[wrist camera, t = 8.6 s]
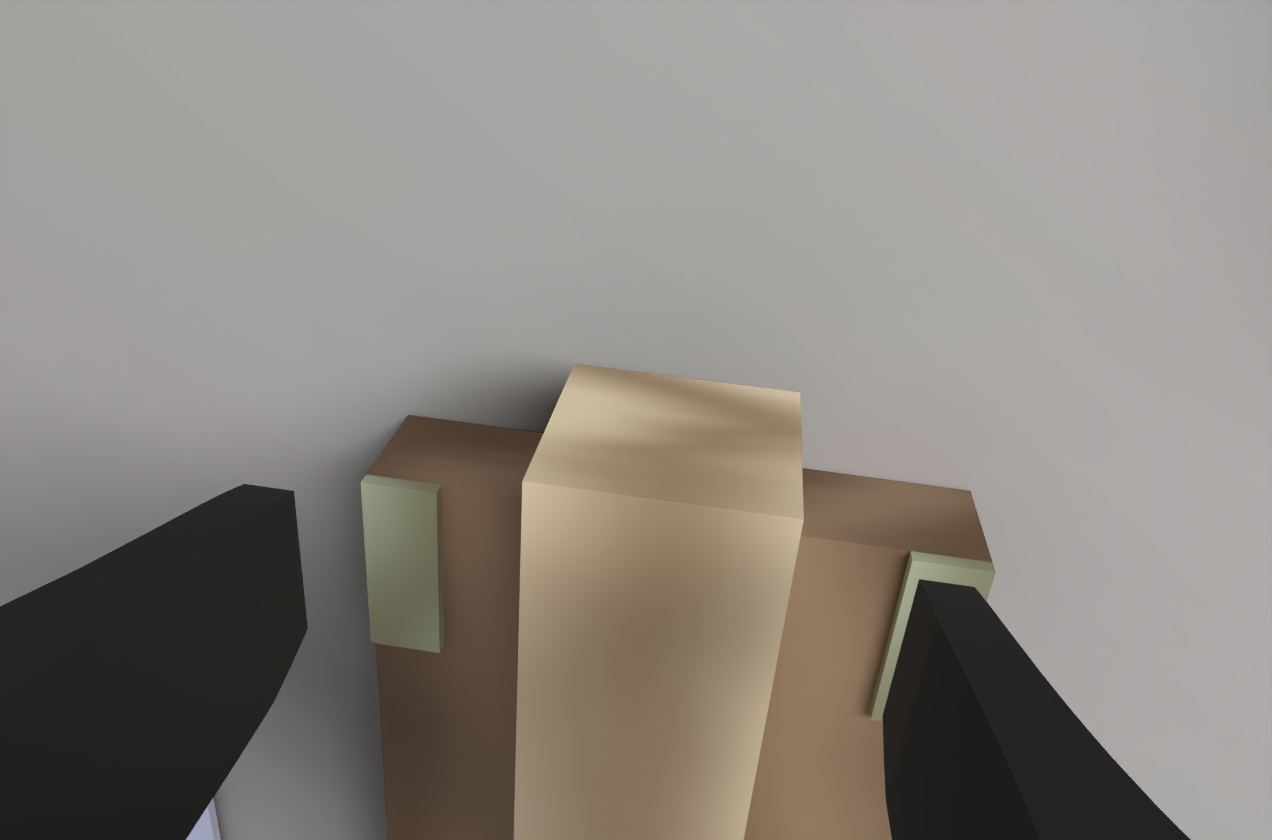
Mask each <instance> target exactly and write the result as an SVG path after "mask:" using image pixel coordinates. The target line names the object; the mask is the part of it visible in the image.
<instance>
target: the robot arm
mask: <svg viewBox="0 0 1272 840" xmlns="http://www.w3.org/2000/svg"><path fill="white" fill-rule="evenodd" d="M307 629H308V628H307V618H306V608H305V598H304V588H303V578H302V569H301V559H300V549H299V539H298V529H297V519H296V509H295V499H294V491H290V490H283V489H275V488H268V487H261V486H254V485H247V484H243V485H241V486H238V487H236V488H234V489H232V490H229V491H227V492H225V493H223V494H221V495H219V496H217V497H215V498H213V499H211V500H209V501H207V502H205V503H203V504H201V505H199V506H197V507H195V508H193V509H191V510H190V511H188V512H186V513H184V514H182V515H180V516H178V517H176V518H174V519H173V520H171V521H169V522H167V523H165V524H163V525H161V526H159V527H158V528H156V529H154V530H152V531H150V532H148V533H146V534H144V535H143V536H141V537H139V538H137V539H135V540H133V541H131V542H129V543H127V544H125V545H123V546H122V547H120V548H118V549H116V550H114V551H112V552H110V553H108V554H106V555H104V556H102V557H101V558H99V559H97V560H95V561H93V562H91V563H89V564H87V565H85V566H83V567H81V568H79V569H77V570H75V571H73V572H71V573H69V574H67V575H65V576H63V577H61V578H59V579H57V580H55V581H53V582H50V583H48V584H46V585H44V586H42V587H40V588H38V589H36V590H34V591H32V592H30V593H28V594H25V595H23V596H21V597H19V598H17V599H15V600H13V601H11V602H9V603H7V604H5V605H3V606H1V607H0V840H221V838H220V832H219V827H218V821H217V816H216V810H215V804H214V799H213V797H214V796H215V794H216V792H217V791H218V789H219V788H220V786H221V785H222V783H223V782H224V780H225V778H226V777H227V775H228V774H229V772H230V771H231V769H232V768H233V766H234V765H235V763H236V761H237V760H238V758H239V757H240V755H241V753H242V752H243V750H244V749H245V747H246V746H247V744H248V742H249V741H250V739H251V738H252V736H253V735H254V733H255V731H256V730H257V728H258V727H259V725H260V723H261V722H262V720H263V719H264V717H265V715H266V714H267V712H268V710H269V709H270V707H271V706H272V704H273V702H274V700H275V698H276V696H277V694H278V692H279V690H280V688H281V686H282V683H283V681H284V679H285V677H286V675H287V673H288V671H289V669H290V667H291V664H292V662H293V660H294V658H295V655H296V653H297V651H298V649H299V647H300V644H301V642H302V640H303V638H304V635H305V633H306V631H307ZM883 748H884V774H885V795H886V805H887V811H888V818H889V824H890V831H891V837H892V840H1190V839H1189V838H1188V837H1187V836H1186V835H1185V834H1184V833H1183V832H1182V831H1181V830H1180V829H1179V828H1178V827H1177V826H1176V825H1175V824H1174V823H1173V822H1172V821H1171V820H1170V819H1169V818H1168V817H1167V816H1166V815H1165V814H1164V813H1163V812H1162V811H1161V810H1160V809H1159V808H1158V807H1157V806H1156V805H1155V804H1154V803H1153V801H1152V800H1151V799H1150V798H1149V797H1148V796H1147V795H1146V794H1145V793H1144V792H1143V791H1142V790H1141V788H1140V787H1139V786H1138V785H1137V784H1136V783H1135V782H1134V781H1133V780H1132V779H1131V778H1130V777H1129V775H1128V774H1127V773H1126V772H1125V771H1124V770H1123V769H1122V768H1121V767H1120V766H1119V765H1118V764H1117V762H1116V761H1115V760H1114V759H1113V758H1112V757H1111V756H1110V755H1109V754H1108V752H1107V751H1106V750H1105V749H1104V748H1103V747H1102V746H1101V744H1100V743H1099V742H1098V741H1097V740H1096V739H1095V738H1094V736H1093V735H1092V734H1091V733H1090V732H1089V731H1088V730H1087V728H1086V727H1085V726H1084V725H1083V724H1082V722H1081V721H1080V720H1079V719H1078V718H1077V716H1076V715H1075V714H1074V713H1073V712H1072V710H1071V709H1070V708H1069V707H1068V706H1067V704H1066V703H1065V702H1064V701H1063V699H1062V698H1061V697H1060V696H1059V695H1058V693H1057V692H1056V691H1055V690H1054V688H1053V687H1052V686H1051V685H1050V683H1049V682H1048V681H1047V680H1046V678H1045V677H1044V676H1043V675H1042V673H1041V672H1040V671H1039V670H1038V668H1037V667H1036V666H1035V664H1034V663H1033V662H1032V661H1031V659H1030V658H1029V657H1028V655H1027V654H1026V653H1025V652H1024V650H1023V649H1022V648H1021V646H1020V645H1019V644H1018V642H1017V641H1016V640H1015V638H1014V637H1013V636H1012V635H1011V633H1010V632H1009V631H1008V629H1007V628H1006V627H1005V625H1004V624H1003V623H1002V621H1001V620H1000V619H999V617H998V616H997V615H996V614H995V612H994V611H993V610H992V608H991V607H990V606H989V604H988V603H987V602H986V600H985V599H984V598H983V597H982V595H981V594H980V593H979V591H978V590H977V589H976V588H975V587H972V586H965V585H958V584H951V583H944V582H936V581H929V580H922V579H919V581H918V584H917V588H916V592H915V596H914V599H913V603H912V607H911V611H910V614H909V618H908V622H907V626H906V629H905V633H904V637H903V641H902V644H901V648H900V652H899V656H898V659H897V663H896V667H895V671H894V674H893V678H892V682H891V686H890V689H889V693H888V697H887V701H886V704H885V708H884V712H883Z"/></svg>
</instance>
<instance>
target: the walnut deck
mask: <svg viewBox="0 0 1272 840" xmlns="http://www.w3.org/2000/svg"><path fill="white" fill-rule="evenodd" d="M543 434H544V433H537V432H530V431H522V430H515V429H507V428H500V427H493V426H485V425H478V424H471V423H463V422H456V421H448V420H441V419H434V418H426V417H419V416H411V415H409V416H408V417H407V418H406V420H405V421H404V423H403V424H402V425H401V427H400V428H399V430H398V431H397V432H396V434H395V435H394V437H393V438H392V439H391V441H390V442H389V443H388V445H387V446H386V448H385V449H384V450H383V452H382V453H381V455H380V456H379V457H378V459H377V460H376V462H375V463H374V464H373V466H372V467H371V469H370V470H369V471H368V473H367V474H366V476H365V477H364V478H363V480H362V481H361V497H362V513H363V529H364V545H365V561H366V576H367V592H368V608H369V624H370V640H371V642H372V643H376V645H377V662H378V679H379V696H380V713H381V729H382V746H383V763H384V780H385V797H386V814H387V830H388V840H514V802H515V761H516V720H517V679H518V638H519V597H520V556H521V515H522V481H523V478H524V476H525V474H526V472H527V469H528V467H529V465H530V463H531V461H532V458H533V456H534V454H535V452H536V449H537V447H538V445H539V443H540V440H541V438H542V436H543ZM802 475H803V510H804V521H803V526H802V532H801V537H800V542H799V548H798V553H797V558H796V563H795V569H794V574H793V579H792V585H791V590H790V595H789V601H788V606H787V611H786V617H785V622H784V627H783V633H782V638H781V643H780V649H779V654H778V659H777V665H776V670H775V675H774V681H773V686H772V691H771V697H770V702H769V707H768V713H767V718H766V723H765V728H764V734H763V739H762V744H761V750H760V755H759V760H758V766H757V771H756V776H755V782H754V787H753V792H752V798H751V803H750V808H749V814H748V819H747V824H746V830H745V835H744V840H892V837H891V831H890V824H889V818H888V811H887V805H886V795H885V774H884V748H883V712H884V708H885V704H886V701H887V697H888V693H889V689H890V686H891V682H892V678H893V674H894V671H895V667H896V663H897V659H898V656H899V652H900V648H901V644H902V641H903V637H904V633H905V629H906V626H907V622H908V618H909V614H910V611H911V607H912V603H913V599H914V596H915V592H916V588H917V584H918V581H919V579H922V580H929V581H936V582H944V583H951V584H958V585H965V586H972V587H975V588H976V589H977V590H978V591H979V593H980V594H981V595H982V597H983V598H984V599H985V600H986V601H987V597H988V594H989V591H990V588H991V585H992V581H993V578H994V575H995V569H994V566H993V563H992V560H991V556H990V553H989V550H988V547H987V543H986V540H985V537H984V534H983V530H982V527H981V524H980V521H979V517H978V514H977V511H976V508H975V504H974V501H973V498H972V495H971V491H965V490H958V489H950V488H943V487H936V486H928V485H921V484H913V483H906V482H899V481H891V480H884V479H877V478H869V477H862V476H854V475H847V474H840V473H832V472H825V471H817V470H810V469H803V468H802Z"/></svg>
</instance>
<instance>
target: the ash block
mask: <svg viewBox="0 0 1272 840" xmlns="http://www.w3.org/2000/svg"><path fill="white" fill-rule="evenodd" d="M803 521H804V510H803V475H802V441H801V406H800V392H792V391H784V390H776V389H768V388H761V387H753V386H745V385H737V384H729V383H721V382H713V381H705V380H697V379H689V378H681V377H673V376H665V375H657V374H649V373H642V372H634V371H626V370H618V369H610V368H602V367H594V366H586V365H578V364H574V366H573V368H572V371H571V373H570V375H569V377H568V380H567V382H566V384H565V386H564V389H563V391H562V393H561V395H560V398H559V400H558V402H557V404H556V407H555V409H554V411H553V413H552V416H551V418H550V420H549V422H548V425H547V427H546V429H545V431H544V434H543V436H542V438H541V440H540V443H539V445H538V447H537V449H536V452H535V454H534V456H533V458H532V461H531V463H530V465H529V467H528V469H527V472H526V474H525V476H524V478H523V481H522V515H521V556H520V597H519V638H518V679H517V720H516V761H515V802H514V840H744V835H745V830H746V824H747V819H748V814H749V808H750V803H751V798H752V792H753V787H754V782H755V776H756V771H757V766H758V760H759V755H760V750H761V744H762V739H763V734H764V728H765V723H766V718H767V713H768V707H769V702H770V697H771V691H772V686H773V681H774V675H775V670H776V665H777V659H778V654H779V649H780V643H781V638H782V633H783V627H784V622H785V617H786V611H787V606H788V601H789V595H790V590H791V585H792V579H793V574H794V569H795V563H796V558H797V553H798V548H799V542H800V537H801V532H802V526H803Z"/></svg>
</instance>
